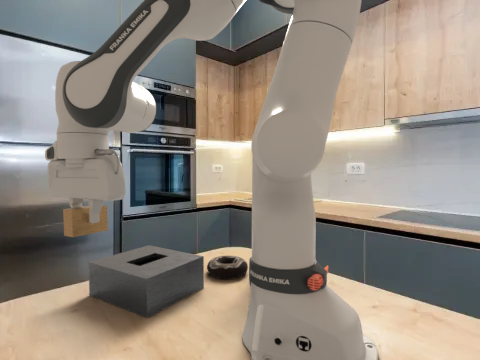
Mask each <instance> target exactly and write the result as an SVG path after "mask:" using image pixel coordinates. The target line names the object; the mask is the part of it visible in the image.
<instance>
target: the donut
mask: <svg viewBox="0 0 480 360" xmlns="http://www.w3.org/2000/svg"><path fill="white" fill-rule="evenodd" d="M206 269H207V271H208V272H207V273H208V274H209V275H210V276H212V277H214V278H217V279H221V280H222V279H223V280H234V279H237V278H240V277H242V276H244V275H245V274H246V273H247V272H248V270H249V265H248V262H247V261H246V260H245V259H244V258H242V257H241V256H236V255H220V256H216V257H213V258H212V259H210V260H209V261H208V263H207V265H206Z"/></svg>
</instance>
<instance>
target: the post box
mask: <svg viewBox="0 0 480 360" xmlns="http://www.w3.org/2000/svg"><path fill="white" fill-rule="evenodd" d="M204 257H205V256H204V255H198V254H195V253H194V254H193V253H189V252H185V251H179V250H173V249H170V248H169V249H168V248H165V247H164V248H163V247H161V246H160V247H159V246H154V245H149V244H148V245H145V246H141V247H137V248H134V249H131V250H127V251H125V252H124V251H123V252H120V253H116V254H112V255H109V256H106V257H101V258H99V259H98V258H97V259H95V260H91V261H88V285H89V287H88V288H89V291H88V292H89V294H88V296H90V297H93V298H95V299H98V300H100V301H103V302H105V303H108V304H110V305H113V306H115V307H118V308H120V309H122V310H125V311H128V312H131V313H133V314H136V315H138V316H141V317H142V318H143V317H144V318H146V319H148V318H149V317H152V316H154V315H156V314H157V313H159V312H161V311H164V310H165V309H168V307H171V306H172V305H174V304H176V303H179V302H180V301H182V300H184V299H186V298H188V297H189V296H191V295H192V294H194V293H196V292H199V291H200V290H202V289H204V288H205V287H204V286H205V285H204V284H205V280H204V279H205V278H204V277H205V276H204V275H205V274H204V273H205V271H204V268H205V265H204V264H205V263H204V262H205V261H204V259H205V258H204Z"/></svg>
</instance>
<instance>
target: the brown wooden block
mask: <svg viewBox="0 0 480 360" xmlns="http://www.w3.org/2000/svg"><path fill="white" fill-rule="evenodd" d="M89 210H90V205H85V206H83V207H76V208H71V207H67V208H62V211H63V212H62V214H63V216H62V218H63V236H64V237H69V238H77V237H81V236H86V235H92V234H96V233H97V234H98V233H101V232H107V231H108V229H109V226H108V223H109V222H108V205H104V204H103V206H102V209H101V211H100V213H99V217H100V221H99V222H98V223H88V222H87V221H86V219H87V218H86V214H89Z"/></svg>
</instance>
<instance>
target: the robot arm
mask: <svg viewBox="0 0 480 360" xmlns="http://www.w3.org/2000/svg"><path fill="white" fill-rule="evenodd" d="M246 1H247V0H143V1H142V2H141V3H140V4H139V5H138V6H137V8H135V9H134V10H133V12H132V13H131V14H130V15H128V17H127V18H126V19H125V20H124V21H123V22H122V24H120V26H119V27H117V29H116V30H115V31H114V32H113V33H112V34H111V35H110V37H109V38H107V40H106V41H105V42H103V44H102V45H101V46H100V47H99V48H98V49H96V51H94V52H93V53H92V54H90V55H89V56H87V57H86V58H84V59H82V60H76V61H70V62H67V63H65V64H63V65H61V67H60V68H59V70H58V72H57V76H56V81H55V93H54V94H55V95H54V96H55V99H54V101H55V113H56V115H57V119H58V126H57V129H56V140H55V141H54V142H53V143H52V144H51V146H49V147H47V149H45V151H44V156H45V160H46V161H48V163H47V164H48V165H47V183H48V190H49V192H50V194H51V196H52V197H55V198H64V199H65V198H67V199H68V204H69V208H76V207H84V206H83V203H84V200H87V201H88V206H90V210H89V214H86V218H87V219H86V221H87V222H88V223H98V222H99V221H100V217H99V213H100V211H101V209H102V206H103V205H104V202H105V201H106V202H110V201H119V200H123V199H124V197H125V195H126V190H127V189H126V181H125V173H124V166H123V164H122V162H121V159H120V155H119V154H118V153H117V152H116V151H115V149H113V148H110V147H109V145H110V143H109V132H110V131H116V132H123V133H126V134H127V133H129V134H132V133H135V134H136V133H141V132H144V131H146V130H147V129H148V128H149V127H150V126H151V125H152V124H153V123H154V121H155V118H156V116H157V115H156V114H157V102H156V100H155V97H154V96H153V94H152V93H151V92H150V91H149V90H148V89H147V88H145V87H144V86H143V85H141V84H139V83H138V82H136V81H135V78H136V77H137V76H139V73H141V72H142V71H143V70H144V69H145V67H146V66H147V65H148V64H149V63H150V62H151V60H152V59H153V58H154V57H155V56H156V55H157V54H158V53H159V52H160V50H161V49H162V48H163V47H164V46H166V45H167V44H168V43H170V42H172V41H175V40H178V39H189V40H193V41H200V42H201V41H203V42H204V41H208V40H213V39H214V38H215V37H216V36H217V35H219V34H220V33H221V32H222V31H223V30H224V29H225V28H226V27H227V26H228V24H229V23H230V22H232V21H231V20H233V18H234V16H236V14H238V13H237V12H238V11H239V10H240V9H241V8H242V6H243V5H244V4H245V2H246ZM259 2H260V3H262V4H265V5H268V6H271V7H272V8H274V9H275V10H277V11H278V12H281V13H283V14H286V15H287V14H288V15H292V16H291V18H290V21H289V24H288V27H287V31H286V33H285V37H284V40H283V43H282V46H281V49H280V52H279V56H278V59H277V62H276V66H275V69H274V73H273V75H272V78H271V81H270V84H269V87H268V90H267V91H266V95H265V99H264V101H263V104H262V107H261V110H260V114H259V117H258V119H257V123H256V126H255V129H254V132H253V135H252V138H251V155H252V156H251V157H252V165H251V166H252V168H251V169H252V172H251V173H252V176H251V178H252V179H251V180H252V181H251V182H252V183H251V185H252V188H251V191H252V192H251V257H250V258H249V259H248V260H249V261H248V262H249V263H248V264H249V265H248V282H249V283H248V284H249V287H250V290H249V291H250V294H249V301H248V310H247V314H246V319H245V324H244V327H243V331H242V334H241V336H242V337H241V338H242V342H243V344H244V346H245V347H246V349H247V350H248V351H249V353H250V356H251V357H250V358H251V360H379V354H378V353H379V352H378V348H377V345H376V343H375V341H374V340H373V339H372V338H371V336H368V335H366V334H363V327H362V323H361V320H360V316H359V313H358V312H357V310H356V309H355V308H354V307H352V306H351V305H350V304H349V303H348V302H347V301H345V299H343V298H342V297H341V296H340V295H339V294H338V293H336V291H334V289H332V288H331V287H330V286H329V285H328V284H327V282H328V274H329V265H326V266H325V267H323V266H322V265H321V264H320V263H319V262H318V261H317V259H316V238H317V237H316V236H317V235H316V233H317V231H316V227H317V226H316V223H317V222H316V221H317V220H316V219H317V217H316V211H315V203H314V195H313V184H312V173H314V171H315V170H316V169H317V168H318V167H319V165H320V164H321V161H322V160H323V157H324V154H325V149H326V145H327V144H326V143H327V139H328V135H329V131H330V127H331V123H332V118H333V112H334V108H335V101H336V97H337V92H338V89H339V85H340V83H341V80H342V76H343V74H344V73H343V72H344V70H345V66H346V65H347V62H348V57H349V55H350V53H351V52H350V51H351V48H352V45H353V42H354V39H355V35H356V32H357V27H358V23H359V19H360V13H361V9H362V8H361V6H362V0H259Z"/></svg>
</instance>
